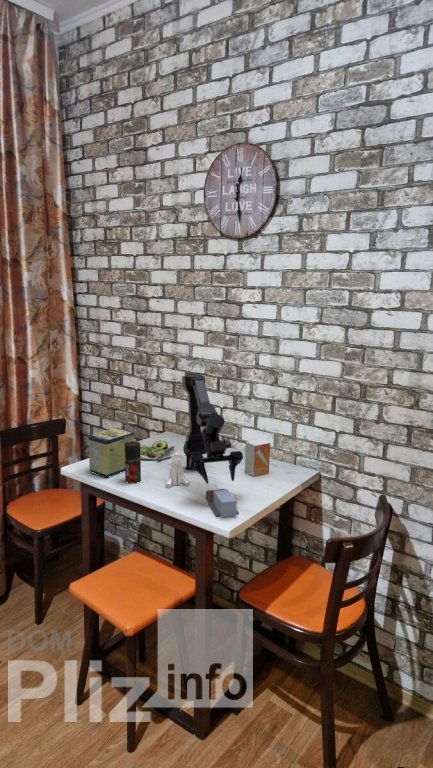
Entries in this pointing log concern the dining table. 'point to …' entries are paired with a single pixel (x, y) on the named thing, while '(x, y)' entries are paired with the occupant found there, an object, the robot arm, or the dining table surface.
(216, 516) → the charcoal felt mat
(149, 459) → the salad plate
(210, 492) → the walnut plinth
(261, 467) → the small box
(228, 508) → the slate-blue block
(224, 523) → the dining table surface
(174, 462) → the white creature statuette
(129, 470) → the deodorant
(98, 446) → the protein box
